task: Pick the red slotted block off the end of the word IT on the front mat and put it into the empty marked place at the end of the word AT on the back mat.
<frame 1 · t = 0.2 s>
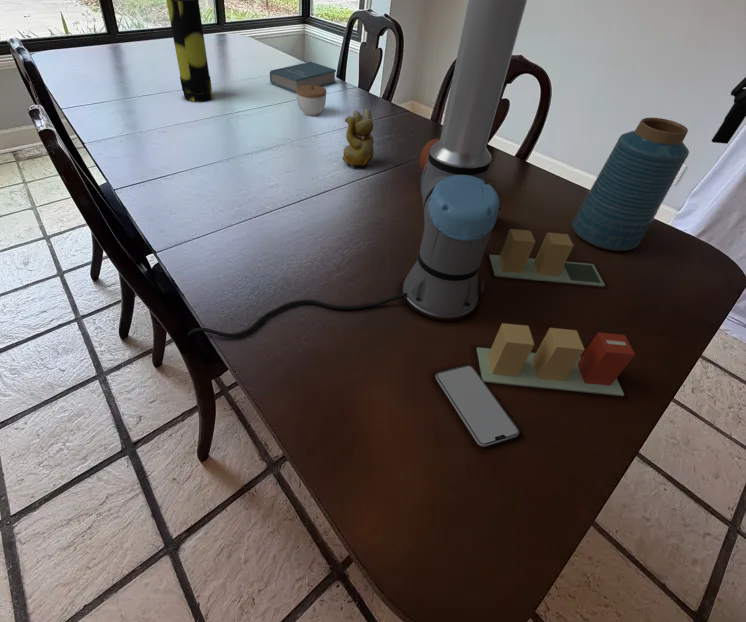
hand: (738, 157, 79), 28 cm above the table, tool pointing down, fingers open, 13 cm apart
container: (198, 98, 167), on the table
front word: (546, 371, 78), on the table
trinket box: (311, 113, 161), on the table
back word: (545, 270, 99), on the table
book: (303, 83, 185), on the table
decorative figurine: (359, 164, 133), on the table
potted plant: (458, 207, 118), on the table
smartphone: (474, 404, 72), on the table
red slotted block: (593, 374, 77), resting on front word
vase: (603, 236, 111), on the table
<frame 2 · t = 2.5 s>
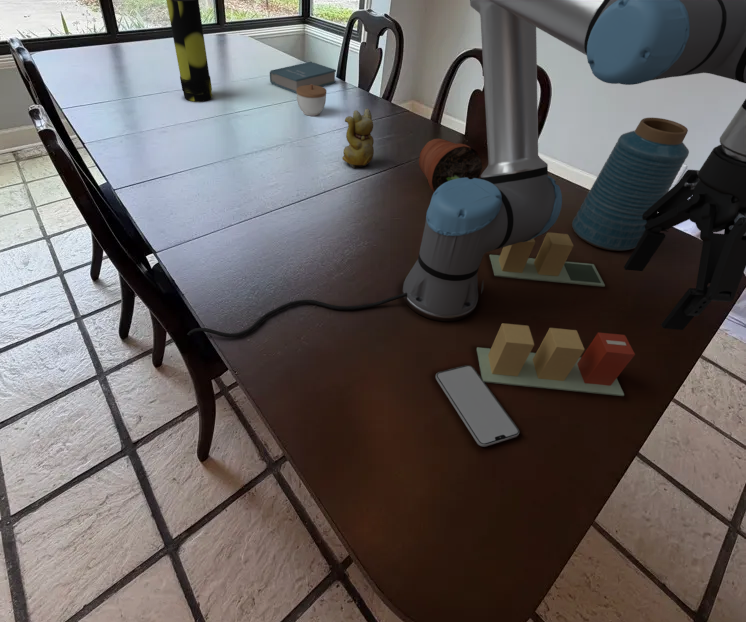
hand: (650, 296, 66), 18 cm above the table, tool pointing down, fingers open, 13 cm apart
nothing on the table moved.
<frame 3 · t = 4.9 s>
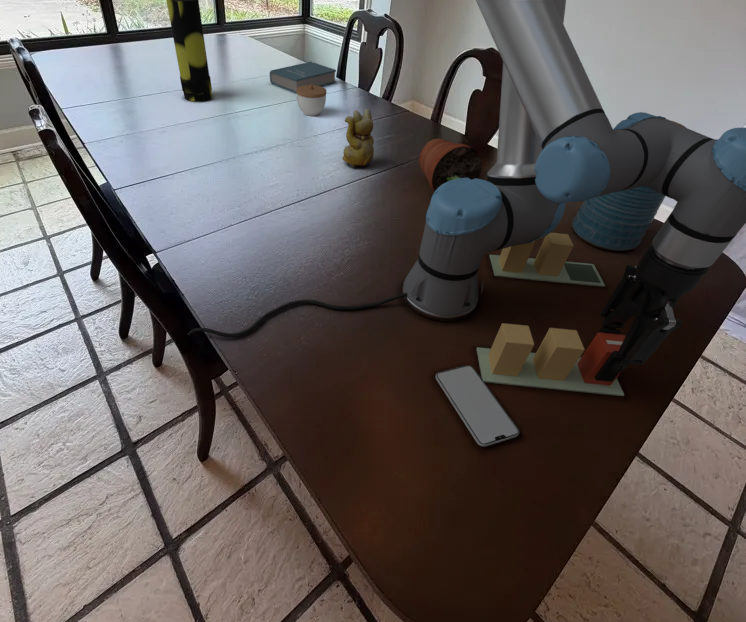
hand: (598, 367, 76), 2 cm above the table, tool pointing down, fingers closed on red slotted block, 4 cm apart
red slotted block: (593, 374, 77), resting on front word, touching gripper
everything else where it was.
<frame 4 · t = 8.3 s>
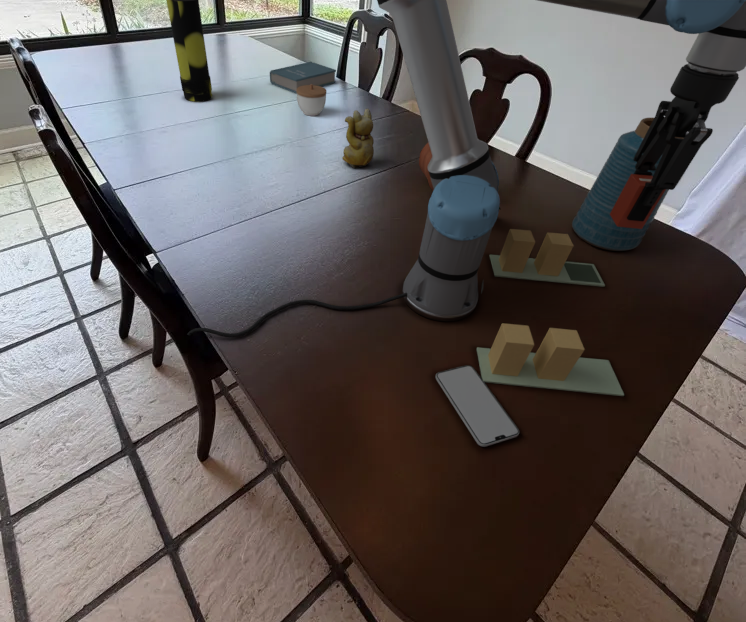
hand: (630, 212, 81), 19 cm above the table, tool pointing down, fingers closed on red slotted block, 4 cm apart
red slotted block: (625, 221, 82), point 17 cm above the table, touching gripper
everything else where it was.
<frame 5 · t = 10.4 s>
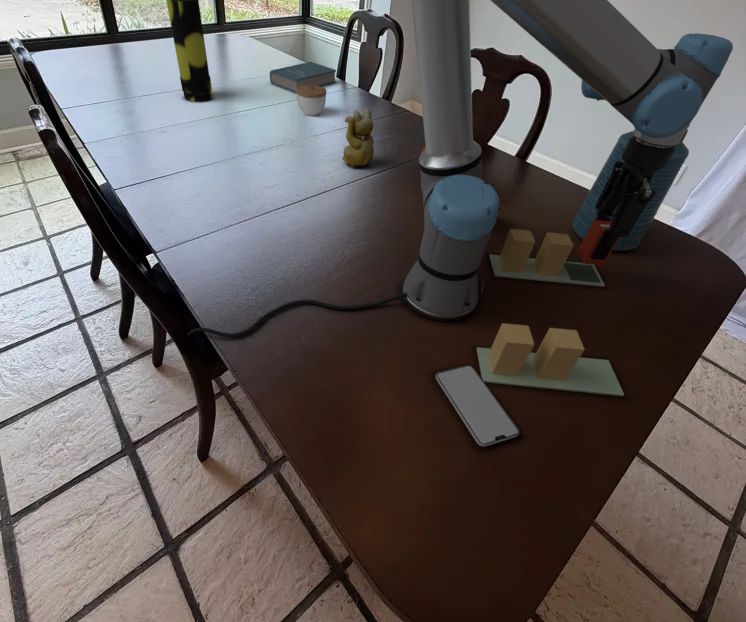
hand: (593, 251, 95), 6 cm above the table, tool pointing down, fingers closed on red slotted block, 4 cm apart
red slotted block: (590, 258, 96), point 4 cm above the table, touching gripper
everything else where it was.
when the fingers open (2 cm above the table, at t = 11.7 s): red slotted block stays where it is, resting on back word.
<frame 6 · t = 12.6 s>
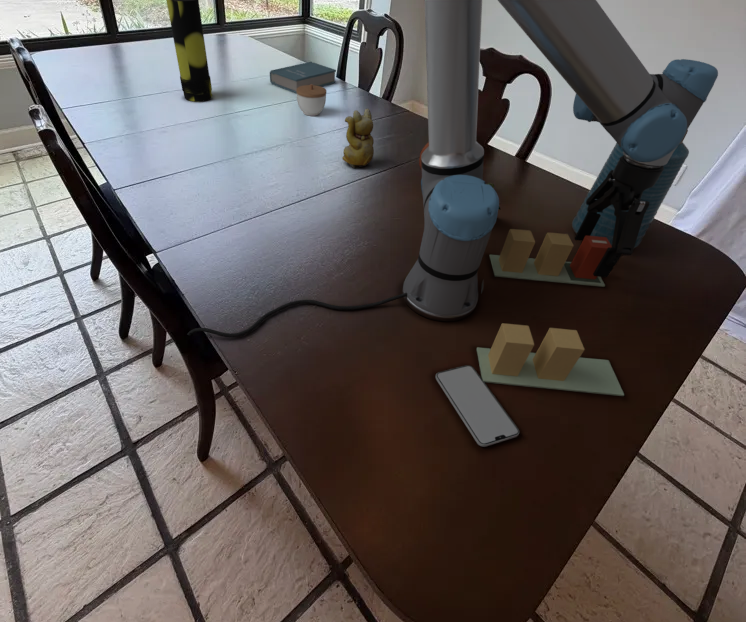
hand: (589, 256, 96), 5 cm above the table, tool pointing down, fingers open, 13 cm apart
red slotted block: (582, 272, 99), resting on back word
everything else where it was.
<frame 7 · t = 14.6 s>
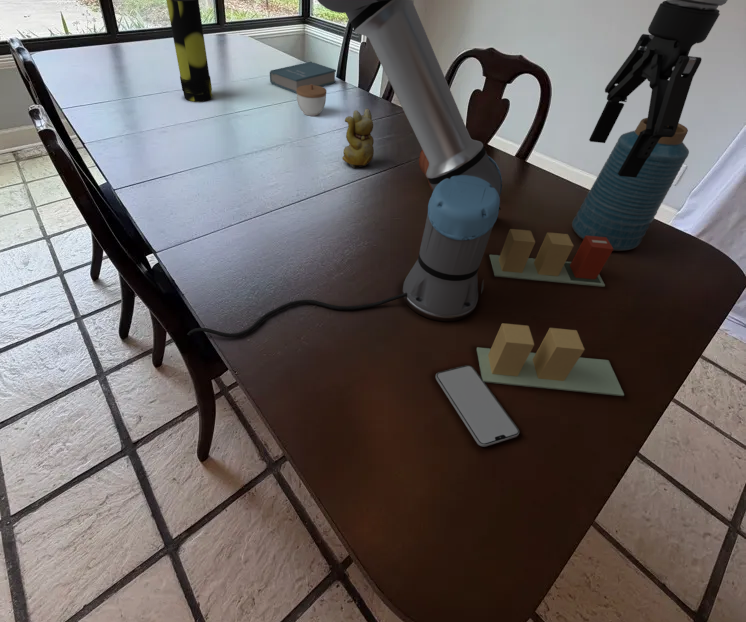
hand: (610, 157, 75), 28 cm above the table, tool pointing down, fingers open, 13 cm apart
nothing on the table moved.
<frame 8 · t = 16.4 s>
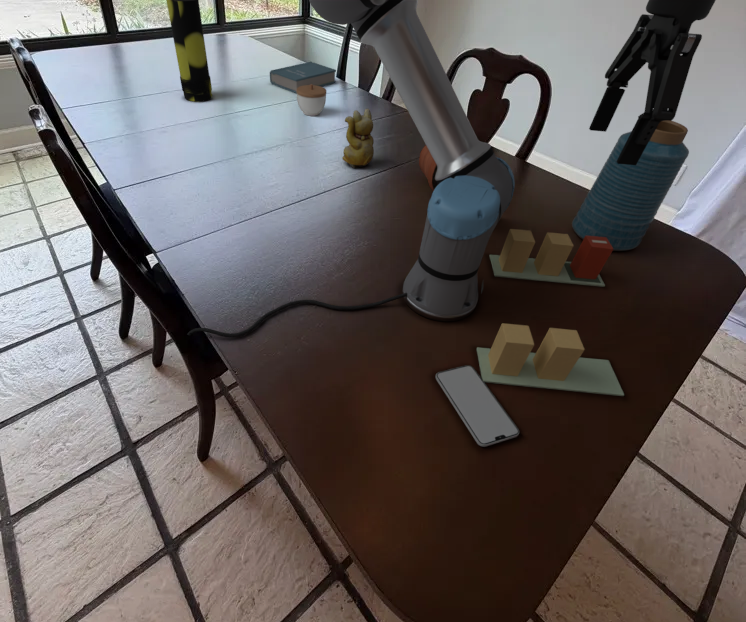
hand: (610, 146, 72), 31 cm above the table, tool pointing down, fingers open, 13 cm apart
nothing on the table moved.
at the end: red slotted block 0.2 cm from the target spot on the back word, point 0.5 cm above the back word's base; red slotted block tilted 0°; the gripper is holding nothing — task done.
